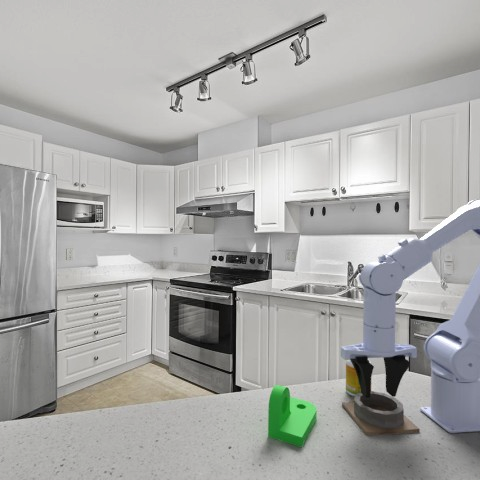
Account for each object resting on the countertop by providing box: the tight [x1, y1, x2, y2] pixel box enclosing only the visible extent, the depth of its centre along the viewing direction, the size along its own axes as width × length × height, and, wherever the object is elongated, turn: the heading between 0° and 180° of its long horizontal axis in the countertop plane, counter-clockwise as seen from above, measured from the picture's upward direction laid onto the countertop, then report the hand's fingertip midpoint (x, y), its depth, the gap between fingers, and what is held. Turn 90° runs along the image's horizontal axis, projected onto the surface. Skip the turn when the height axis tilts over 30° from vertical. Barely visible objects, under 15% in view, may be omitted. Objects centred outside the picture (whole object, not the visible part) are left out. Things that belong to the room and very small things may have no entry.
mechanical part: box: [267, 384, 318, 448], centre depth 59 cm, size 12×6×8 cm, turn 152°
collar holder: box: [341, 390, 421, 436], centre depth 61 cm, size 10×10×3 cm
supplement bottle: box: [345, 359, 372, 398], centre depth 71 cm, size 5×5×10 cm
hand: (378, 394), depth 61 cm, fingers open, 5 cm apart
